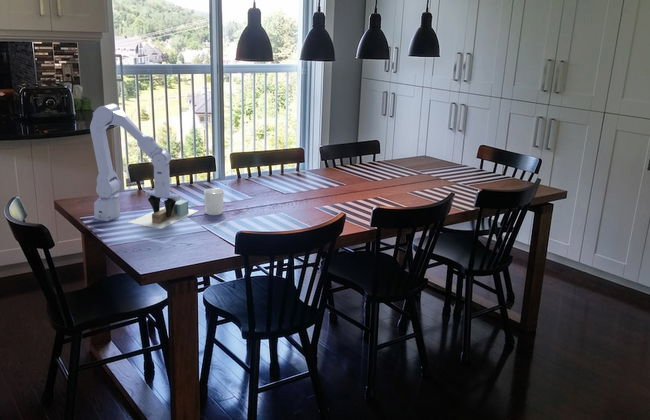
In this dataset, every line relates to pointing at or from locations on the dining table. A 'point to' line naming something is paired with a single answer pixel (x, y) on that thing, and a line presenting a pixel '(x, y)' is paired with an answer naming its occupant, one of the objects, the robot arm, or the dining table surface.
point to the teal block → (181, 207)
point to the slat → (161, 216)
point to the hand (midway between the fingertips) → (162, 215)
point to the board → (147, 221)
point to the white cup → (213, 201)
